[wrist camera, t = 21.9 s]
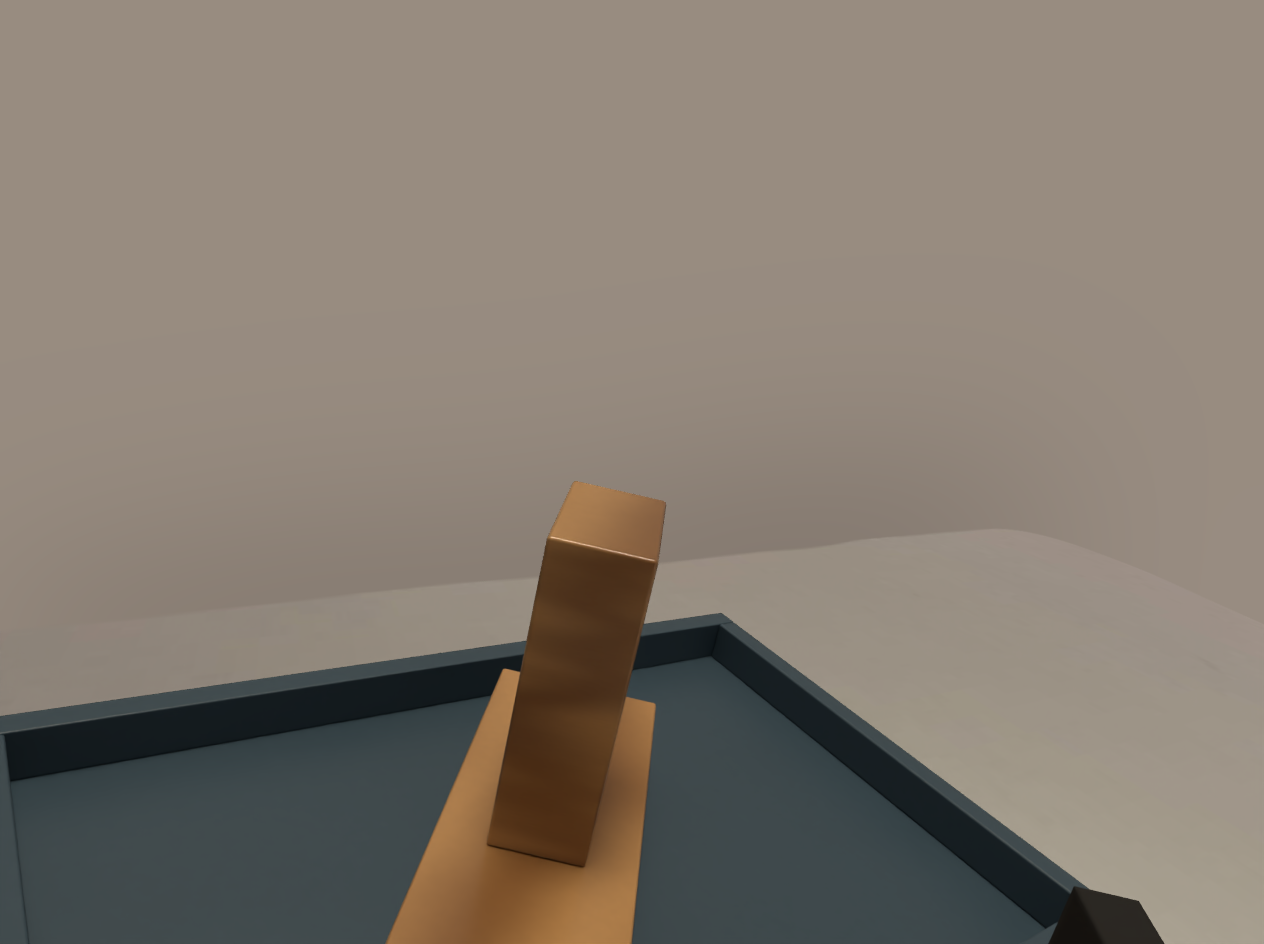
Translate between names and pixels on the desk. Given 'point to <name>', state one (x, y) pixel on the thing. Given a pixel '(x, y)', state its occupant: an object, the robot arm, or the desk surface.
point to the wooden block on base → (555, 755)
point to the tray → (424, 775)
